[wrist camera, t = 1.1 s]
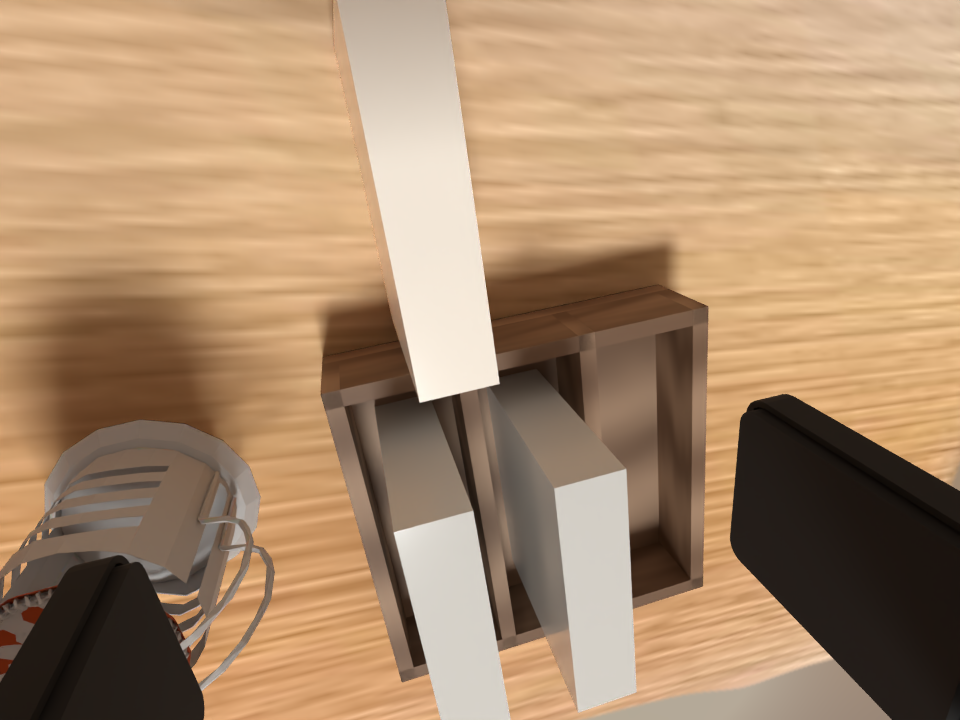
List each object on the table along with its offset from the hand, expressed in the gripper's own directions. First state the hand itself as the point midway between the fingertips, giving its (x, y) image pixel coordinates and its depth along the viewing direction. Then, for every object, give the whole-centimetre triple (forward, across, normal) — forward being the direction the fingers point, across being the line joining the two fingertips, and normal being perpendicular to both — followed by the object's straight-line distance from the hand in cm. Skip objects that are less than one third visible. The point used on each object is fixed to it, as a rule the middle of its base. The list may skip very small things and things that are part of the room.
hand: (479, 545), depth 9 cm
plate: (+20, -2, -3) cm, 20 cm away
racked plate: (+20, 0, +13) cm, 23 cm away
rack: (+20, -6, +12) cm, 24 cm away
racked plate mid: (+20, -6, +12) cm, 24 cm away
